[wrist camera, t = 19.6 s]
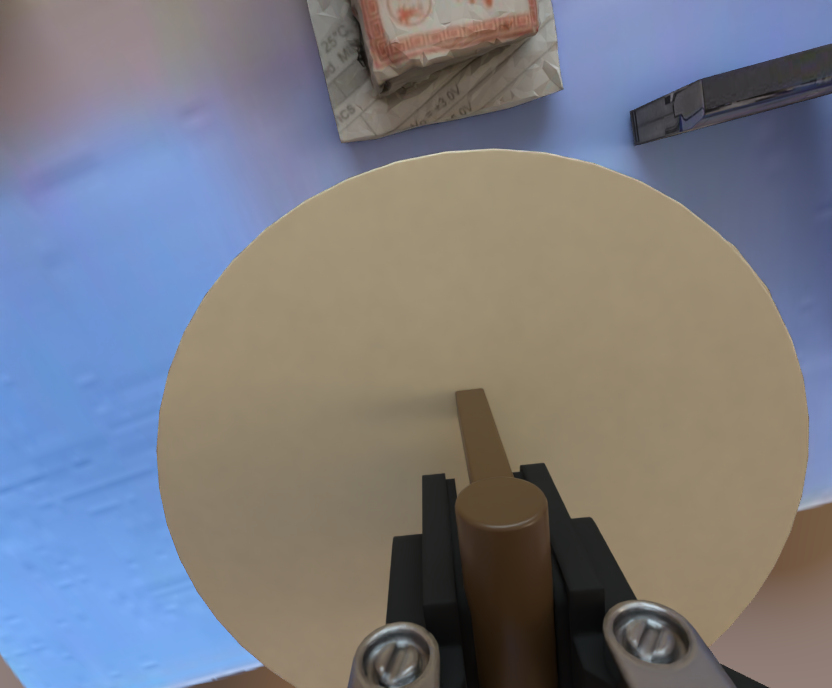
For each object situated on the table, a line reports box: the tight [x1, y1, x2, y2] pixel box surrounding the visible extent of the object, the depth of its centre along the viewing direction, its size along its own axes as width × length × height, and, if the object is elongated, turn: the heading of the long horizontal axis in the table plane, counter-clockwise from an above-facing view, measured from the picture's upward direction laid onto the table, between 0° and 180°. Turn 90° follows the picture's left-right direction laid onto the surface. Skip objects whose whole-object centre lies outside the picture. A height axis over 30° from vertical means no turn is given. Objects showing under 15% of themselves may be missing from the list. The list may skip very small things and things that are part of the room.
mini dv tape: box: [630, 43, 832, 146], centre depth 20 cm, size 8×2×6 cm, turn 104°
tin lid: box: [157, 148, 809, 688], centre depth 11 cm, size 17×17×7 cm
